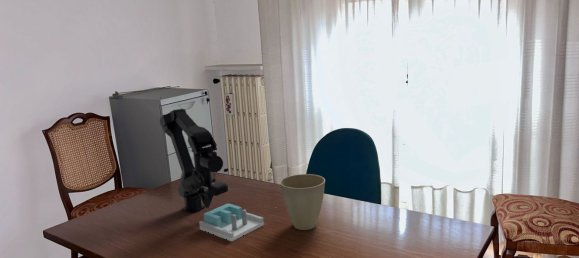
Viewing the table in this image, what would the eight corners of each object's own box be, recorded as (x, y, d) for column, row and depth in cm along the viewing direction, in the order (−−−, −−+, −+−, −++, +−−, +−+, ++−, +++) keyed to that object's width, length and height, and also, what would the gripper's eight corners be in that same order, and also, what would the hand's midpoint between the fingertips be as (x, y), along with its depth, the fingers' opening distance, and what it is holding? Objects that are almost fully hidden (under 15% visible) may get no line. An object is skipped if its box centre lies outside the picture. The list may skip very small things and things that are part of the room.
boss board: (200, 229, 155) (198, 212, 154) (232, 214, 166) (230, 198, 165) (231, 241, 145) (230, 223, 143) (263, 225, 156) (262, 208, 154)
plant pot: (336, 225, 152) (334, 180, 149) (301, 239, 143) (299, 192, 140) (307, 212, 164) (305, 170, 160) (274, 225, 155) (271, 180, 152)
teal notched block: (204, 224, 156) (203, 213, 155) (229, 213, 164) (228, 203, 163) (218, 229, 151) (217, 218, 150) (242, 218, 159) (241, 207, 159)
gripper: (168, 167, 159) (172, 209, 163) (201, 177, 147) (206, 221, 151) (193, 159, 167) (197, 199, 171) (227, 167, 155) (231, 210, 159)
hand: (207, 207), depth 163 cm, fingers closed
